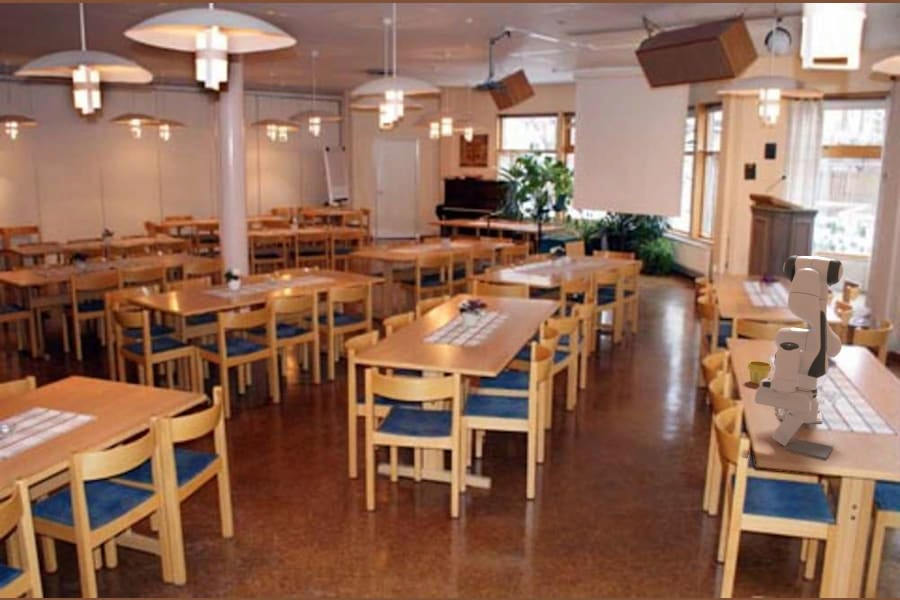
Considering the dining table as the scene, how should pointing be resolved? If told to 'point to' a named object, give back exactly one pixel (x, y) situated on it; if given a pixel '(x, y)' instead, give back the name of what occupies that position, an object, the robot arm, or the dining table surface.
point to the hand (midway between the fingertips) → (780, 419)
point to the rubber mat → (809, 449)
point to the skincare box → (788, 428)
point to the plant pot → (758, 371)
